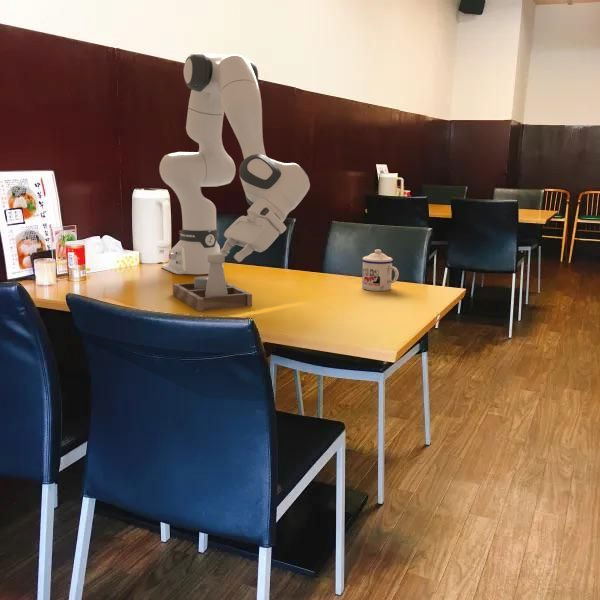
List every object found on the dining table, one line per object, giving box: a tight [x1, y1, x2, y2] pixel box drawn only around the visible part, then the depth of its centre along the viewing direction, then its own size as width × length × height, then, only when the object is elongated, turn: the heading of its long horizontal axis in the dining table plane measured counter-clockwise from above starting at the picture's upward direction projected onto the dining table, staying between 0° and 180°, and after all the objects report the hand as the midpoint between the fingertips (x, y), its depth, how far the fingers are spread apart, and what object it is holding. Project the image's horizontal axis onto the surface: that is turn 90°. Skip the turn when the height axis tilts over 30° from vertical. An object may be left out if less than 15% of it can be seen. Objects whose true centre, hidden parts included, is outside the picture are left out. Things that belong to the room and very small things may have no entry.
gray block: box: [193, 275, 208, 290], centre depth 166 cm, size 6×6×5 cm
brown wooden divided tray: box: [172, 281, 253, 312], centre depth 162 cm, size 21×14×4 cm
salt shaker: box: [205, 253, 228, 297], centre depth 157 cm, size 6×6×13 cm
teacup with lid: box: [361, 249, 400, 292], centre depth 183 cm, size 12×9×12 cm
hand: (229, 257), depth 158 cm, fingers open, 8 cm apart
